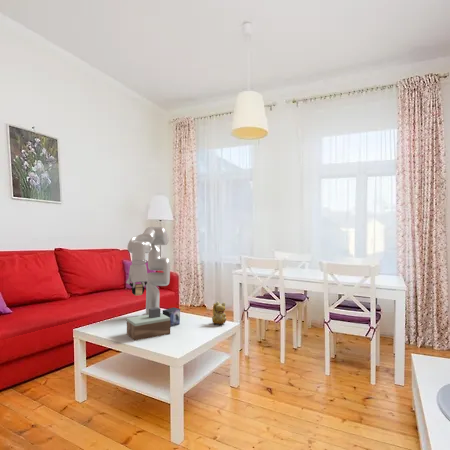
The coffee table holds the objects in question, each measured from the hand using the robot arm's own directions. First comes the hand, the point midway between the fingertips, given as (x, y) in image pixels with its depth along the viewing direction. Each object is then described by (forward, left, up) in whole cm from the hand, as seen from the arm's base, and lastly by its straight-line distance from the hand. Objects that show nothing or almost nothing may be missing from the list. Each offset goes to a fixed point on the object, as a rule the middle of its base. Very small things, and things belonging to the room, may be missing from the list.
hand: (138, 293), depth 191 cm
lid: (0, +7, -17) cm, 18 cm away
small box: (-9, +26, -25) cm, 37 cm away
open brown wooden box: (0, +7, -25) cm, 26 cm away
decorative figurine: (+6, +54, -25) cm, 60 cm away
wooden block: (0, 0, -1) cm, 1 cm away
